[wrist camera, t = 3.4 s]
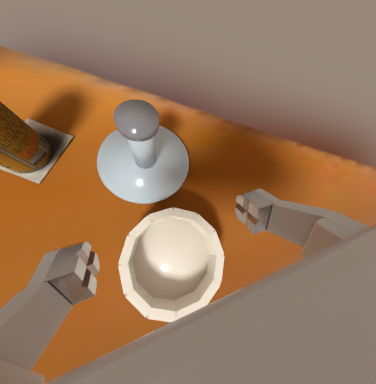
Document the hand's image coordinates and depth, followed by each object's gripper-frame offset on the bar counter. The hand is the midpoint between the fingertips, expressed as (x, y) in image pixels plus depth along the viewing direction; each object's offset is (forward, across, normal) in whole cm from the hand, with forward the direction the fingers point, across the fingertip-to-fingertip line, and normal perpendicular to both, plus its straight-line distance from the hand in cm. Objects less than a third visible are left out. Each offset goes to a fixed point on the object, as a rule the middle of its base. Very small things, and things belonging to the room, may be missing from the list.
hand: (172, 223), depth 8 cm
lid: (+19, 0, +2) cm, 19 cm away
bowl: (+8, 0, +13) cm, 15 cm away
